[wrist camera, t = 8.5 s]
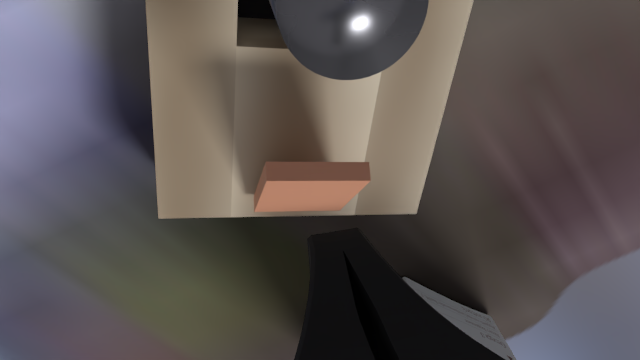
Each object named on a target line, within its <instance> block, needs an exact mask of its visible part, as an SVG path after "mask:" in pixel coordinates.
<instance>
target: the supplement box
mask: <svg viewBox="0 0 640 360" xmlns="http://www.w3.org/2000/svg"><path fill="white" fill-rule="evenodd" d="M402 279H403V280H404V281H405V282H406V283H407V284H408V285H409V286H410V287H411V288H412V289H413V290H414V291H415V292H416V293H417V294H418V295H420V296H421V297H422V298H423V299H424V300H425V301H426V302H427V303H428V304H429V305H431V306H432V307H433V308H434V309H435V310H436V311H438V312H439V313H440V314H441V315H442V316H444V317H445V318H446V319H447V320H449V321H450V322H451V323H452V324H454V325H455V326H456V327H458V328H459V329H460V330H462V331H463V332H465V333H466V334H467V335H469V336H470V337H471V338H473V339H474V340H476V341H477V342H479V343H480V344H482V345H483V346H485V347H487V348H488V349H490V350H491V351H493V352H494V353H496V354H497V355H499V356H501V357H502V358H504V359H505V360H516V358H515V357H514V355H513V353H512V351H511V350H510V348H509V346H508V344H507V343H506V341H505V339H504V338H503V336H502V334H501V333H500V331H499V329H498V327H497V326H496V324H495V322H494V321H493V319H492V317H491V316H489V315H486V314H484V313H481V312H478V311H476V310H473V309H471V308H469V307H466V306H464V305H462V304H459V303H457V302H455V301H453V300H451V299H449V298H447V297H445V296H442V295H440V294H438V293H436V292H434V291H432V290H430V289H428V288H426V287H424V286H422V285H420V284H418V283H416V282H414V281H412V280H410V279H409V278H407V277H403V278H402Z"/></svg>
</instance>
